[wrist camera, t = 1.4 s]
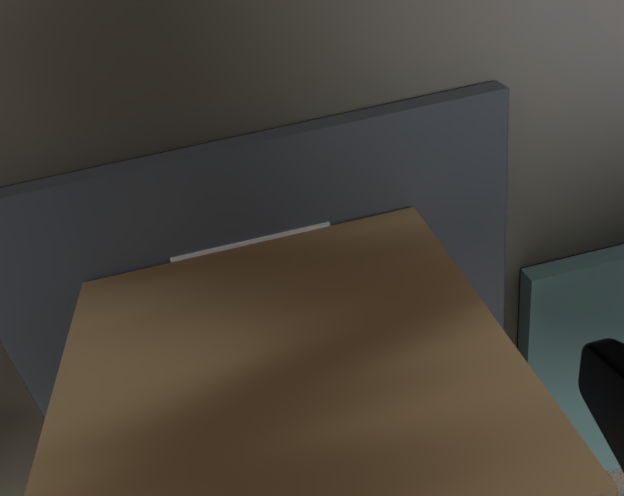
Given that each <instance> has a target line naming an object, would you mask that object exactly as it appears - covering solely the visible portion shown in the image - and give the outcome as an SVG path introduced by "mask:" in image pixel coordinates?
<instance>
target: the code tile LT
mask: <svg viewBox="0 0 624 496" xmlns="http://www.w3.org/2000/svg"><path fill="white" fill-rule="evenodd" d="M508 96H509V88H508V87H506V86H505V85H503V84H501V83H499V82H498V81H491V82H487V83H482V84H477V85H473V86H468V87H464V88H459V89H454V90H450V91H445V92H440V93H436V94H431V95H427V96H422V97H417V98H413V99H408V100H403V101H399V102H394V103H390V104H385V105H380V106H376V107H371V108H366V109H362V110H357V111H353V112H348V113H343V114H339V115H334V116H329V117H325V118H320V119H316V120H311V121H306V122H302V123H297V124H292V125H288V126H283V127H279V128H274V129H269V130H265V131H260V132H255V133H251V134H246V135H242V136H237V137H232V138H228V139H223V140H218V141H214V142H209V143H205V144H200V145H195V146H191V147H186V148H181V149H177V150H172V151H168V152H163V153H158V154H154V155H149V156H144V157H140V158H135V159H131V160H126V161H121V162H117V163H112V164H107V165H103V166H98V167H94V168H89V169H84V170H80V171H75V172H70V173H66V174H61V175H57V176H52V177H47V178H43V179H38V180H33V181H29V182H24V183H20V184H15V185H10V186H6V187H1V188H0V342H1V344H2V346H3V347H4V349H5V351H6V353H7V354H8V356H9V358H10V360H11V361H12V363H13V365H14V366H15V368H16V370H17V372H18V373H19V375H20V377H21V378H22V380H23V382H24V384H25V385H26V387H27V389H28V391H29V392H30V394H31V396H32V397H33V399H34V401H35V403H36V404H37V406H38V408H39V409H40V411H41V413H42V415H43V416H44V418H45V417H46V413H47V409H48V406H49V402H50V398H51V395H52V391H53V388H54V384H55V380H56V377H57V373H58V369H59V366H60V362H61V359H62V355H63V351H64V348H65V344H66V340H67V337H68V333H69V330H70V326H71V322H72V319H73V315H74V311H75V308H76V304H77V301H78V297H79V293H80V290H81V286H82V283H84V282H88V281H92V280H97V279H101V278H105V277H110V276H114V275H119V274H123V273H127V272H132V271H136V270H140V269H145V268H149V267H153V266H158V265H162V264H166V263H171V262H175V261H180V260H184V259H188V258H193V257H197V256H201V255H206V254H210V253H214V252H219V251H223V250H227V249H232V248H236V247H241V246H245V245H249V244H254V243H258V242H262V241H267V240H271V239H275V238H280V237H284V236H288V235H293V234H297V233H301V232H306V231H310V230H315V229H319V228H323V227H328V226H332V225H336V224H341V223H345V222H349V221H354V220H358V219H362V218H367V217H371V216H376V215H380V214H384V213H389V212H393V211H397V210H402V209H406V208H410V207H414V208H415V209H416V211H417V212H418V213H419V215H420V216H421V217H422V219H423V220H424V222H425V223H426V224H427V226H428V227H429V228H430V230H431V231H432V233H433V234H434V235H435V237H436V238H437V239H438V241H439V242H440V244H441V245H442V246H443V248H444V249H445V250H446V252H447V253H448V254H449V256H450V257H451V259H452V260H453V261H454V263H455V264H456V265H457V267H458V268H459V270H460V271H461V272H462V274H463V275H464V276H465V278H466V279H467V281H468V282H469V283H470V285H471V286H472V287H473V289H474V290H475V292H476V293H477V294H478V296H479V297H480V298H481V300H482V301H483V303H484V304H485V305H486V307H487V308H488V309H489V311H490V312H491V314H492V315H493V316H494V318H495V319H496V320H497V322H498V323H499V325H500V326H501V327H502V329H503V328H504V282H505V235H506V189H507V142H508Z"/></svg>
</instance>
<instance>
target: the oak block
mask: <svg viewBox="0 0 624 496" xmlns="http://www.w3.org/2000/svg"><path fill="white" fill-rule="evenodd" d="M617 493H618V487H617V485H616V484H615V482H614V481H613V480H612V478H611V477H610V476H609V474H608V473H607V471H606V470H605V469H604V467H603V466H602V465H601V463H600V462H599V460H598V459H597V458H596V456H595V455H594V454H593V452H592V451H591V449H590V448H589V447H588V445H587V444H586V443H585V441H584V440H583V439H582V437H581V436H580V434H579V433H578V432H577V430H576V429H575V428H574V426H573V425H572V423H571V422H570V421H569V419H568V418H567V417H566V415H565V414H564V412H563V411H562V410H561V408H560V407H559V406H558V404H557V403H556V401H555V400H554V399H553V397H552V396H551V395H550V393H549V392H548V390H547V389H546V388H545V386H544V385H543V384H542V382H541V381H540V379H539V378H538V377H537V375H536V374H535V373H534V371H533V370H532V368H531V367H530V366H529V364H528V363H527V362H526V360H525V359H524V357H523V356H522V355H521V353H520V352H519V351H518V349H517V348H516V347H515V345H514V344H513V342H512V341H511V340H510V338H509V337H508V336H507V334H506V333H505V331H504V330H503V329H502V327H501V326H500V325H499V323H498V322H497V320H496V319H495V318H494V316H493V315H492V314H491V312H490V311H489V309H488V308H487V307H486V305H485V304H484V303H483V301H482V300H481V298H480V297H479V296H478V294H477V293H476V292H475V290H474V289H473V287H472V286H471V285H470V283H469V282H468V281H467V279H466V278H465V276H464V275H463V274H462V272H461V271H460V270H459V268H458V267H457V265H456V264H455V263H454V261H453V260H452V259H451V257H450V256H449V254H448V253H447V252H446V250H445V249H444V248H443V246H442V245H441V244H440V242H439V241H438V239H437V238H436V237H435V235H434V234H433V233H432V231H431V230H430V228H429V227H428V226H427V224H426V223H425V222H424V220H423V219H422V217H421V216H420V215H419V213H418V212H417V211H416V209H415V208H414V207H410V208H406V209H402V210H397V211H393V212H389V213H384V214H380V215H376V216H371V217H367V218H362V219H358V220H354V221H349V222H345V223H341V224H336V225H332V226H328V227H323V228H319V229H315V230H310V231H306V232H301V233H297V234H293V235H288V236H284V237H280V238H275V239H271V240H267V241H262V242H258V243H254V244H249V245H245V246H241V247H236V248H232V249H227V250H223V251H219V252H214V253H210V254H206V255H201V256H197V257H193V258H188V259H184V260H180V261H175V262H171V263H166V264H162V265H158V266H153V267H149V268H145V269H140V270H136V271H132V272H127V273H123V274H119V275H114V276H110V277H105V278H101V279H97V280H92V281H88V282H84V283H82V286H81V290H80V293H79V297H78V301H77V304H76V308H75V311H74V315H73V319H72V322H71V326H70V330H69V333H68V337H67V340H66V344H65V348H64V351H63V355H62V359H61V362H60V366H59V369H58V373H57V377H56V380H55V384H54V388H53V391H52V395H51V398H50V402H49V406H48V409H47V413H46V417H45V420H44V424H43V427H42V431H41V435H40V438H39V442H38V446H37V449H36V453H35V456H34V460H33V464H32V467H31V471H30V475H29V478H28V482H27V486H26V489H25V493H24V496H617Z"/></svg>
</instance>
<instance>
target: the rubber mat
mask: <svg viewBox="0 0 624 496" xmlns="http://www.w3.org/2000/svg"><path fill="white" fill-rule="evenodd" d="M605 338H612V339H615V340H618V341H620V342H622V343H624V244H622V245H618V246H614V247H610V248H605V249H601V250H597V251H593V252H589V253H585V254H580V255H576V256H572V257H568V258H564V259H560V260H555V261H551V262H547V263H543V264H539V265H535V266H531V267H526V268H522V269H521V278H520V304H519V329H518V351H519V352H520V353H521V355H522V356H523V357H524V359H525V360H526V362H527V363H528V364H529V366H530V367H531V368H532V370H533V371H534V373H535V374H536V375H537V377H538V378H539V379H540V381H541V382H542V384H543V385H544V386H545V388H546V389H547V390H548V392H549V393H550V395H551V396H552V397H553V399H554V400H555V401H556V403H557V404H558V406H559V407H560V408H561V410H562V411H563V412H564V414H565V415H566V417H567V418H568V419H569V421H570V422H571V423H572V425H573V426H574V428H575V429H576V430H577V432H578V433H579V434H580V436H581V437H582V439H583V440H584V441H585V443H586V444H587V445H588V447H589V448H590V449H591V451H592V452H593V454H594V455H595V456H596V458H597V459H598V460H599V462H600V463H601V465H602V466H603V467H604V469H605V470H606V471H607V472H609V471H613V470H616V469H620V468H621V467H620V465H619V463H618V462H617V460H616V458H615V456H614V454H613V453H612V451H611V449H610V447H609V445H608V443H607V442H606V440H605V438H604V436H603V434H602V433H601V431H600V429H599V427H598V425H597V423H596V422H595V420H594V418H593V416H592V414H591V413H590V411H589V409H588V407H587V405H586V403H585V402H584V400H583V398H582V396H581V393H580V391H579V386H578V377H579V368H580V359H581V351H582V348H583V346H584V345H585V344H586V343H589V342H593V341H597V340H601V339H605Z"/></svg>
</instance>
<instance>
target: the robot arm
mask: <svg viewBox="0 0 624 496" xmlns="http://www.w3.org/2000/svg"><path fill="white" fill-rule="evenodd" d="M578 386H579V391H580V393H581V396H582V398H583V400H584V402H585V403H586V405H587V407H588V409H589V411H590V413H591V414H592V416H593V418H594V420H595V422H596V423H597V425H598V427H599V429H600V431H601V433H602V434H603V436H604V438H605V440H606V442H607V443H608V445H609V447H610V449H611V451H612V453H613V454H614V456H615V458H616V460H617V462H618V463H619V465H620V467H621V469H622V471H623V472H624V343H622V342H620V341H618V340H615V339H612V338H605V339H601V340H597V341H593V342H589V343H586V344H585V345H584V346H583V348H582V351H581V359H580V368H579V377H578Z"/></svg>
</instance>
